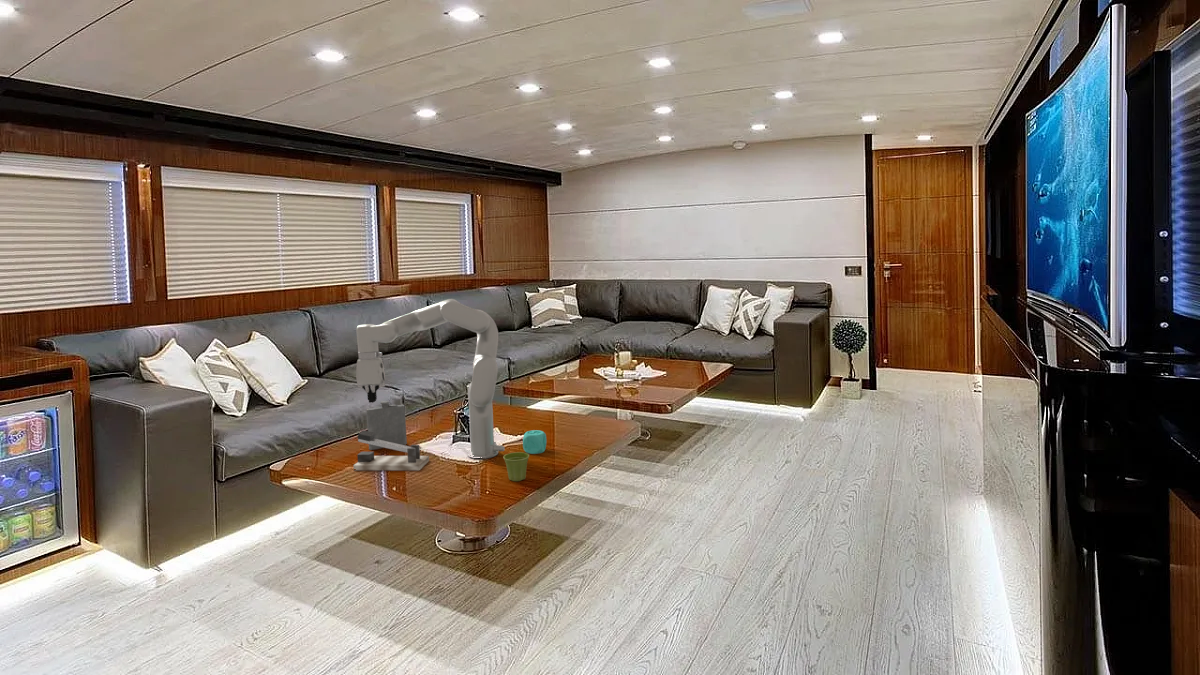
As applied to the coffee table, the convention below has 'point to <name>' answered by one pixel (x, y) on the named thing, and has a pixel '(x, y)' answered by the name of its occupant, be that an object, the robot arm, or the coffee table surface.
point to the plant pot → (516, 465)
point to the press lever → (380, 441)
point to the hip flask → (387, 423)
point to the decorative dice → (534, 442)
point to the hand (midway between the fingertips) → (372, 401)
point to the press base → (392, 461)
